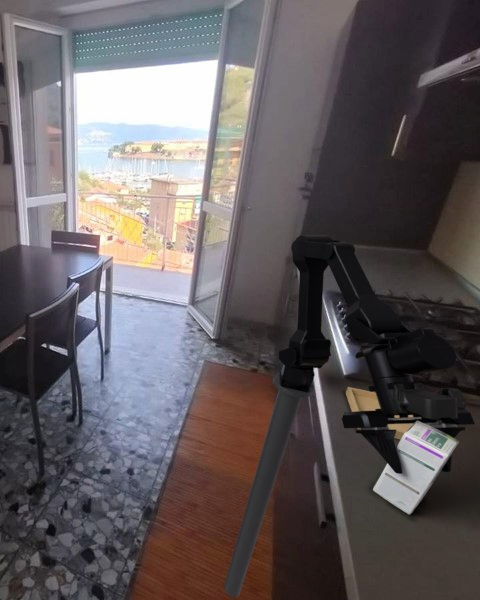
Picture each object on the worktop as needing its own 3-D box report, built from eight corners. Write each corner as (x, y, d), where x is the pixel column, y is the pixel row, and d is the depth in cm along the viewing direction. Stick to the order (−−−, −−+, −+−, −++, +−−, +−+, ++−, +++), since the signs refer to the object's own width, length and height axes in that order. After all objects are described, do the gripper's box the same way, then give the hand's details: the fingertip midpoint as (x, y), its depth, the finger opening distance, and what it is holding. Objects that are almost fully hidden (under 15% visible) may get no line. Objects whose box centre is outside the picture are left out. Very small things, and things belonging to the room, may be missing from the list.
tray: (357, 429, 79) (360, 422, 78) (345, 393, 90) (347, 386, 89) (434, 448, 74) (438, 441, 73) (411, 407, 85) (414, 400, 84)
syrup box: (410, 516, 61) (452, 456, 54) (370, 489, 65) (404, 431, 59) (421, 499, 64) (462, 441, 57) (382, 475, 68) (416, 418, 62)
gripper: (374, 373, 57) (409, 480, 52) (488, 369, 58) (535, 476, 52) (329, 382, 68) (354, 472, 62) (426, 379, 68) (459, 469, 62)
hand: (422, 472), depth 59 cm, fingers closed on syrup box, 8 cm apart
